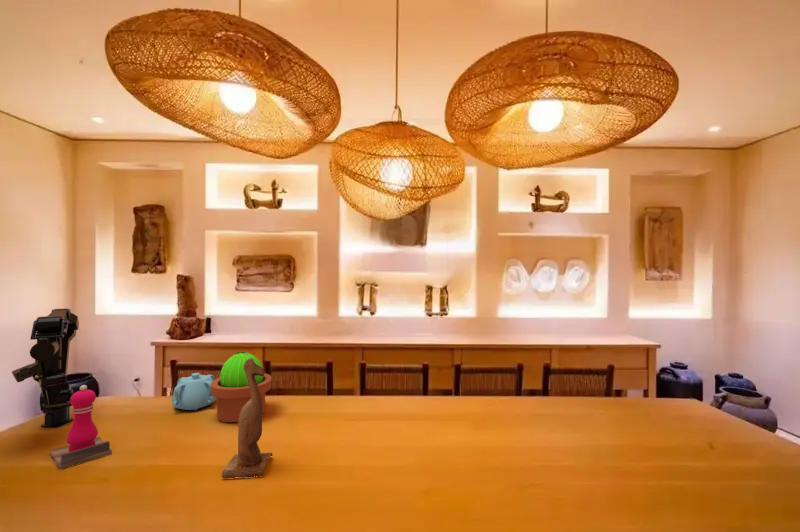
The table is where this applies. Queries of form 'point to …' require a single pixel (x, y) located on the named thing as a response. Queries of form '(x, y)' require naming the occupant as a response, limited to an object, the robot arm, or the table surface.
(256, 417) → the bird sculpture
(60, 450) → the flat brown board
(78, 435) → the pepper mill
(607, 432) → the table surface
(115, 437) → the table surface
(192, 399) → the decorative pot
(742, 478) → the table surface
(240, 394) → the potted cactus
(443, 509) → the table surface
